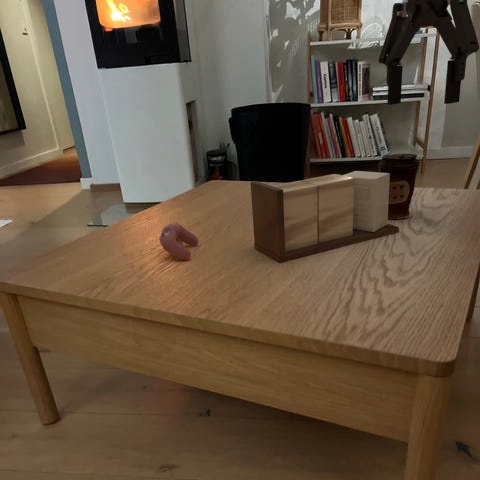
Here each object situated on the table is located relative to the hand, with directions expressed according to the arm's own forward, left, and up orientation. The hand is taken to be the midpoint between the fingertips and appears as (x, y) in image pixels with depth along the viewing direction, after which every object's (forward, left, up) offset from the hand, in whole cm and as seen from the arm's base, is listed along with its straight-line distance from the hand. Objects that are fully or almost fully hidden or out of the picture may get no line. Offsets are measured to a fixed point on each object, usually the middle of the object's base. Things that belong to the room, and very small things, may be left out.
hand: (421, 103), depth 86 cm
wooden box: (+5, +17, -24) cm, 29 cm away
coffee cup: (+9, -4, -24) cm, 26 cm away
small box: (+5, +8, -23) cm, 25 cm away
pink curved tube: (+17, +44, -24) cm, 53 cm away
